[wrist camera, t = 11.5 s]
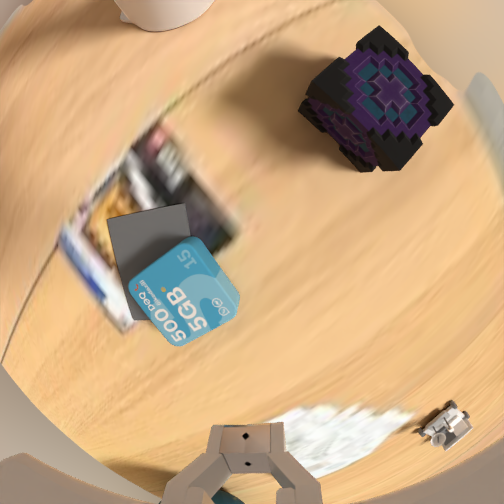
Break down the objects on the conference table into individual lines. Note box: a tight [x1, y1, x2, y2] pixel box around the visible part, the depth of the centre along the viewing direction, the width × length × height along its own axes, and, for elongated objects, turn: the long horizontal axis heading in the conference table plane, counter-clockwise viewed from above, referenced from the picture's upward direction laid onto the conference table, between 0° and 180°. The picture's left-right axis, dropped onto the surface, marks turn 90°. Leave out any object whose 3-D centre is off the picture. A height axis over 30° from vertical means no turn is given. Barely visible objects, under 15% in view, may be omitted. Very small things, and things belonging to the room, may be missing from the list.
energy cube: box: [298, 26, 454, 173], centre depth 26 cm, size 12×12×12 cm
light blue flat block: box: [128, 237, 240, 346], centre depth 37 cm, size 12×4×12 cm
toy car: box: [418, 400, 473, 451], centre depth 43 cm, size 18×10×12 cm
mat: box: [107, 203, 191, 320], centre depth 39 cm, size 17×13×1 cm
